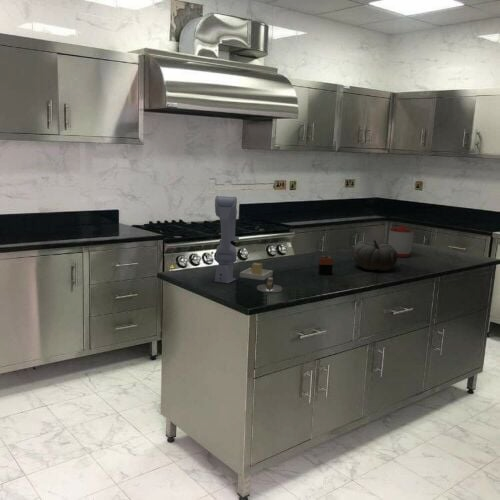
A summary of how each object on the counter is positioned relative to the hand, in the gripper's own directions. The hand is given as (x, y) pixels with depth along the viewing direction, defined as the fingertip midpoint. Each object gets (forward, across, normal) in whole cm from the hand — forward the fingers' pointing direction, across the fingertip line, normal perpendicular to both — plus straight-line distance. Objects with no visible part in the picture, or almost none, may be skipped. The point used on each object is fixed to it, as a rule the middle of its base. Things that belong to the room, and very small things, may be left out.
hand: (228, 255), depth 282 cm
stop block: (+9, +5, -15) cm, 18 cm away
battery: (+10, +34, -40) cm, 53 cm away
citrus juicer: (+10, +115, -54) cm, 127 cm away
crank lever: (+8, -9, -31) cm, 34 cm away
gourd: (+10, +66, -55) cm, 86 cm away
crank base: (+9, -12, -33) cm, 36 cm away
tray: (+9, +5, -14) cm, 18 cm away
